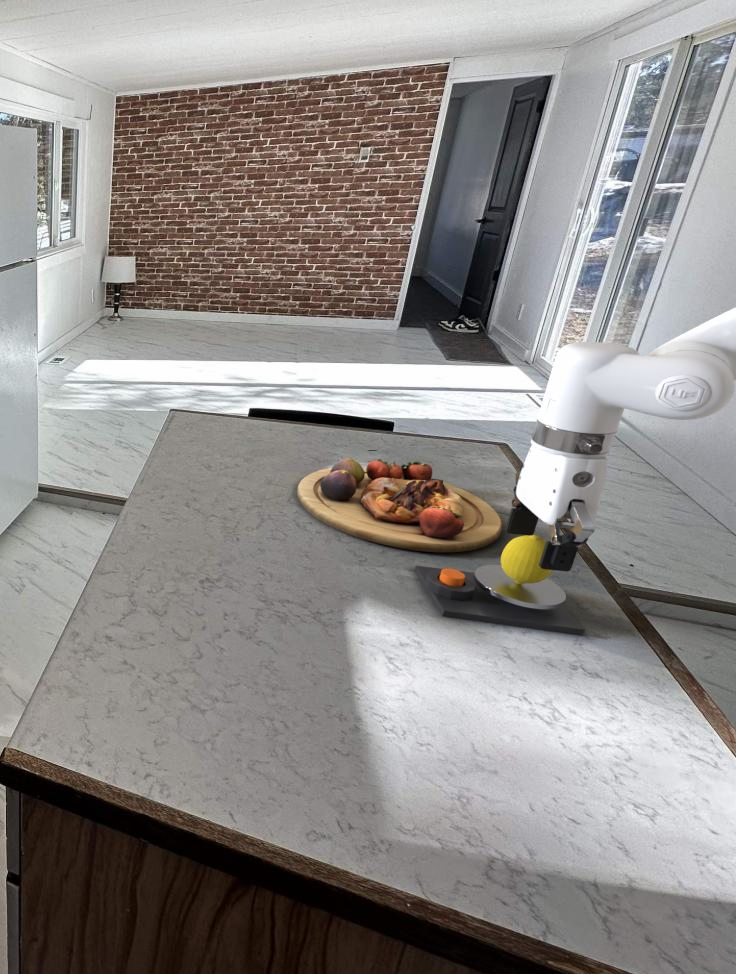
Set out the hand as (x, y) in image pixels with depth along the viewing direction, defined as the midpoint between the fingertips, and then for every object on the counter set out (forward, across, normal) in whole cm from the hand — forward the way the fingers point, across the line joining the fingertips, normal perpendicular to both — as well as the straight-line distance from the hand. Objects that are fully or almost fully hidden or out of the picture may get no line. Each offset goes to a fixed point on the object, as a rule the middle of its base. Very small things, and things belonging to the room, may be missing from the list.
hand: (535, 550), depth 90 cm
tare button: (+7, 0, +9) cm, 11 cm away
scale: (+10, 0, +3) cm, 10 cm away
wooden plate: (+10, +29, +8) cm, 32 cm away
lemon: (+6, 0, 0) cm, 6 cm away
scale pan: (+7, 0, +1) cm, 7 cm away
